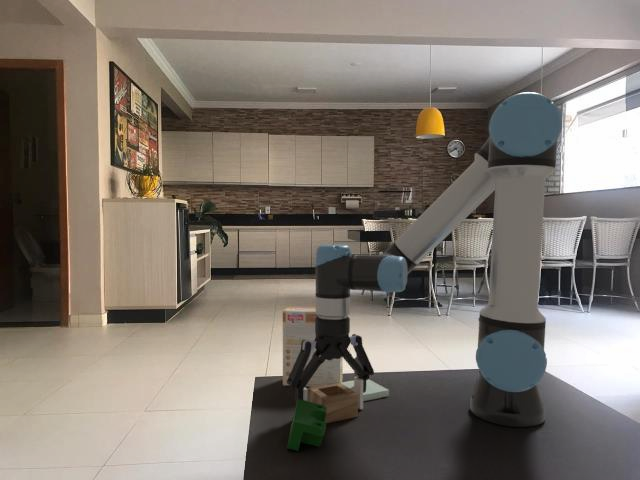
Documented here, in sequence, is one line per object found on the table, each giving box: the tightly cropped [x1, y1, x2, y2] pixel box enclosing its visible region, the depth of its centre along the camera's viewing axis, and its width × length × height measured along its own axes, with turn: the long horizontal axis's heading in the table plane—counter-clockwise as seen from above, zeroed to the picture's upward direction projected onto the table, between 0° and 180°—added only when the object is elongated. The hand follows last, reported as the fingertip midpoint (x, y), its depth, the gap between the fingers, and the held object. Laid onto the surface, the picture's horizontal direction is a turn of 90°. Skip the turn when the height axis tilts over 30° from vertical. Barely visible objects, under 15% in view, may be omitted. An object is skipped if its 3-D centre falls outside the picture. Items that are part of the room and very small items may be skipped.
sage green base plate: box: [341, 353, 390, 402], centre depth 114 cm, size 10×10×10 cm
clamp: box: [286, 399, 327, 452], centre depth 89 cm, size 12×6×9 cm, turn 173°
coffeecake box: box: [282, 306, 344, 388], centre depth 122 cm, size 15×7×20 cm, turn 82°
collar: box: [307, 383, 359, 424], centre depth 102 cm, size 8×8×5 cm
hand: (331, 412), depth 102 cm, fingers open, 13 cm apart
